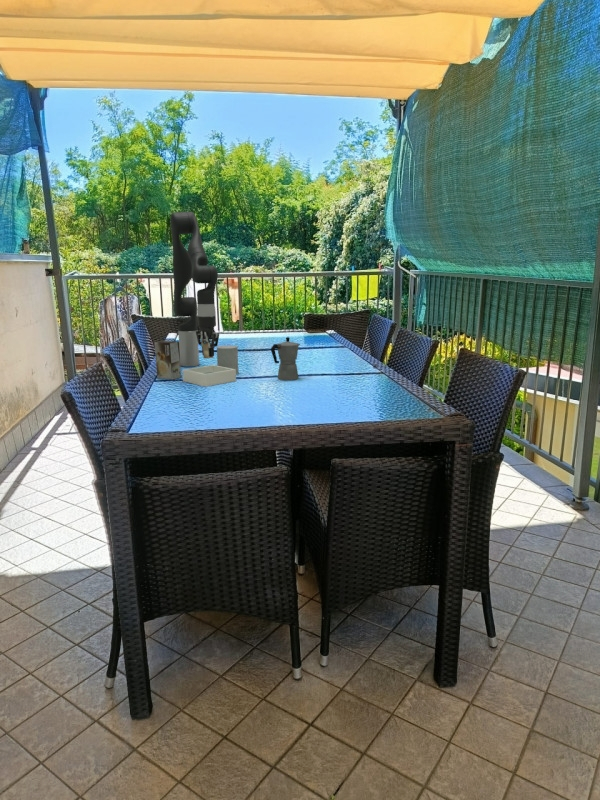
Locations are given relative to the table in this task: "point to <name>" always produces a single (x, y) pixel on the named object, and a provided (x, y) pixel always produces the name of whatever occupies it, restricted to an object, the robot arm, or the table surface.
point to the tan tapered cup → (206, 350)
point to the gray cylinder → (228, 357)
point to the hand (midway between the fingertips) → (208, 355)
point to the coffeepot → (286, 359)
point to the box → (209, 375)
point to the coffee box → (168, 359)
